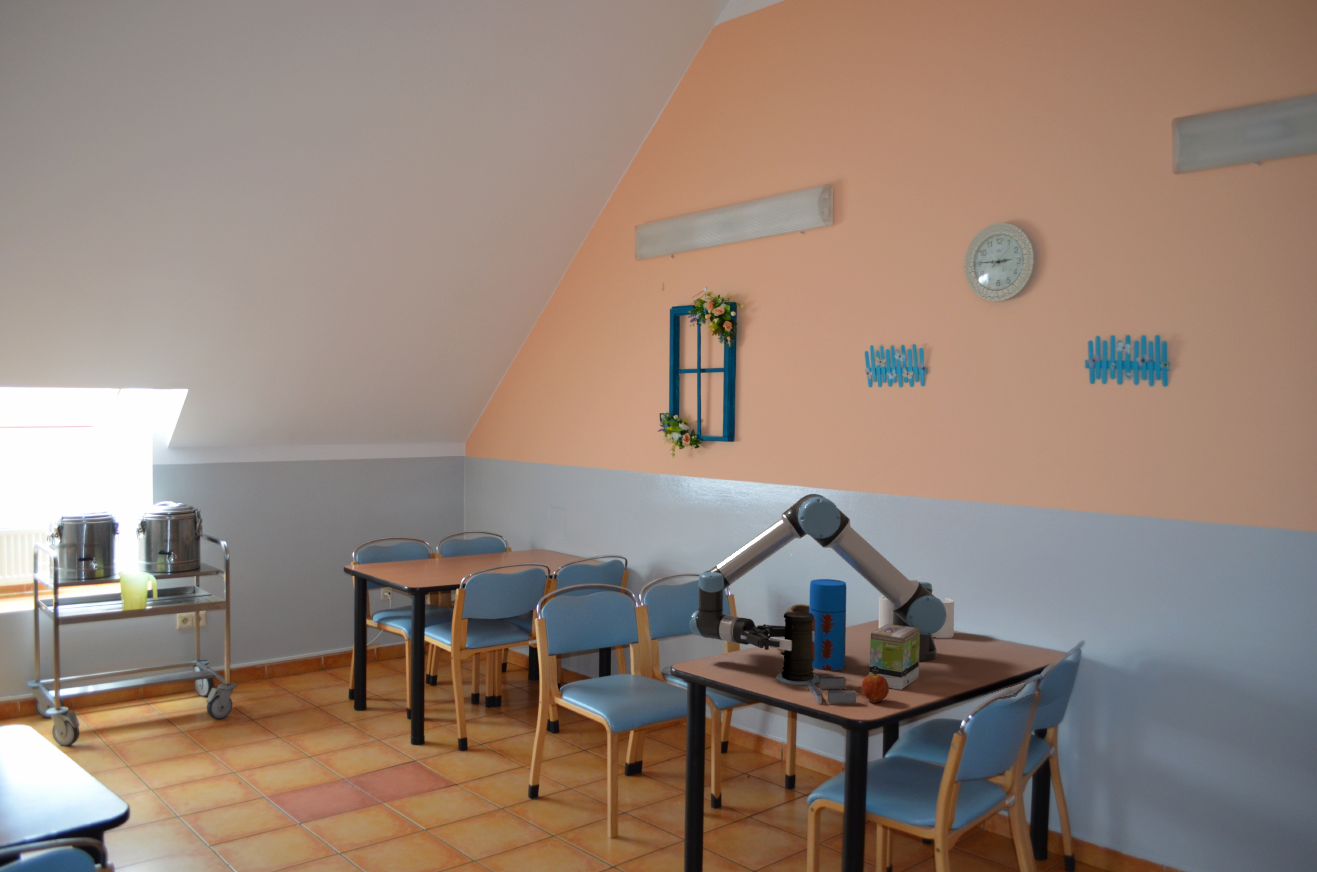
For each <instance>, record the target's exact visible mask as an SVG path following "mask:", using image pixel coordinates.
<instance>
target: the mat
mask: <svg viewBox="0 0 1317 872" xmlns="http://www.w3.org/2000/svg"><path fill="white" fill-rule="evenodd" d="M776 680H777V682H779V683H783V684H785V685H790V686H803V687H805V686H808V681H790V680H787V679H784V678H783V677H782V672H780V673H778V674H777V675H776ZM812 681H813V683H814V685H816V684H819V676H818V675H816V674H814V677H813V679H812Z"/></svg>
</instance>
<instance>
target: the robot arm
mask: <svg viewBox="0 0 1317 872" xmlns="http://www.w3.org/2000/svg"><path fill="white" fill-rule="evenodd" d="M806 535H808V536H810V537H811V538H812V539H813V541H815V542H816V543H817V544H819V545H820V546H821V547H822V548H824V549H827V548H828V549H829V548H830V549H832V550H833V551H834V552H835V553H836V554H837V555H838V556H839V557H840V558H842V559H843V560H844V561H845V562H846V563H847V564H848V565H849V566H850V567H851V568H852V569H854V570H855V571H856V572H857V573H858V574H859V575H860V576H861V577H862V578H863V579H864V580H866V581H867V582H868V583H869V584H870V585H871V586H872V587H874V588H875V590H877V591H878V592H879V593H880V594H881V596H884V598H885V599H888V600H889V601H890V609H891V610H892V611H893V625H900V626H907V627H914V628H920V649H919V662H923V661H924V662H925V661H926V662H927V661H931V660H934V659H936V658H937V653H938V651H937V646H936V643H935V639H934V638H933V636H932V634H934V633H936V632H937V631H939V630H940V629H941V628H942V627H943V625H944V623H945V621H946V609H945V607H944V604H943V603H942V602H943V601H942V600H941V599H940V598H938V597H937V596H935V595H934V594H933V591H934V590H933V586H932V583H930V582H927V581H925V582H924V581H918V580H914V579H912V580H910V579H908V578H907V576H905V574H903V573H902V572H901V571H900V570H899V569H897V567H896V566H895V565H894V564H892V563H891V562H890V561H889V560H888V559H887V558H886V557H884V555H882V554H881V553H880V552H879V551H878V550H877V549H876V548H874V547H873V545H871V544H870V543H869V542H868V541H867V540H866V539H865V538H863V536H862V535H860V534H859V533H858V532H857V531H856V530H855V529H854V528H853V527H852V526H851V519H850V518H849V517H848V516H847V515H846V514H845V513H844V512H842V511H841V510H840V508H838V507H837V505H836V504H835V503H834V502H833V500H830V499H829V498H826V496H823V495H822V494H818V493H809V494H807V495H804V496H803V497H800V498H799V500H797V501H796V502H795V503H794V504H793V505H792V506H790V507H789V508H788V509H786V511H784V512H782V513H781V518H780V519H778V520H777V521H776V522H774V523H773V524H772V525H770V526H769V527H767V528H765V530H763V531H762V532H760V533H759V534H758V535H757V536H755V537H754V538H752V539H751V540H749V541H748V542H747V543H746V544H744V545H742V546H741V547H740V548H739V549H737V550H735V551H734V552H733V553H731V554H729V556H727V557H725V559H723V560H722V561H720V562H719V563H718V564H716V565H715V566H714V567H712V568H711V569H708V570H705V571H704V572H702V573H700V574H699V576H698V581H697V586H698V610H695V611H694V612H693V613H692V614H691V616H690V620H689V628H690V629H689V630H690V631H691V633H692V634H694V635H695V636H699V637H701V638H702V637H703V638H706V639H707V638H708V639H713V640H720V641H723V642H724V641H726V642H727V643H728V644H731V643H737V644H741V645H746V646H748V645H752V646H754V647H757V648H760V649H764V651H768V650H769V649H770V648H771V649H772V648H773V649H776V650H777V649H783V650H788V651H791V650H792V641H791V640H785V629H784V628H785V625H774V624H773V625H770V624H766V623H765V624H759V625H756V624H755V622H754V620H753V619H751V618H747V617H740V616H736V615H728V614H724V598H725V597H724V596H725V595H724V590H726V589H727V588H728V587H729V586H731V585H732V584H733V583H735V582H737V581H738V580H739V579H740V578H742V577H744V576H745V575H746V574H747V573H749V572H750V571H751V570H753V569H754V568H756V567H758V566H759V565H760V564H762V563H763V562H765V561H766V560H767V559H769V558H771V557H772V556H773V555H774V554H775V553H777V552H778V551H780V550H781V549H783V548H784V547H785V546H787V545H788V544H790V543H791V542H792V541H793V540H795V539H802V538H803V537H805V536H806ZM812 641H814V632H813V631H812Z"/></svg>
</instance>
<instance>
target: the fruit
mask: <svg viewBox="0 0 1317 872" xmlns="http://www.w3.org/2000/svg"><path fill="white" fill-rule="evenodd" d="M876 674H877V671H876ZM876 674H872V675H869V674H868V675H867V676H865V677H863V680H862V682H861V691H862V694H863V696H864V697H865V698H866V699H867V700H869V701H871V702H872V703H880V702H881V701H884V699H886V698H887V697H888V694H889V692H890V691H889V690H890V688H889V686H888V683H887V681H886V679H885V678H884V677H883V676H880V675H876Z"/></svg>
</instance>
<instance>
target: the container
mask: <svg viewBox="0 0 1317 872" xmlns="http://www.w3.org/2000/svg"><path fill="white" fill-rule="evenodd" d="M783 618H784V626H785V628H784V629H785V637H784V639H785V640H791V641H792V650H791V651H788V650H784V653H783V666H782V672H781V673H782V677H783V678H784V679H787V680H790V681H808V680H812V679H813V677H814V672H813V671H814V669H815V668H813V667H812V660H813V658H812V631H813V629H812V623H813V621H812V620H813V619H814V615H813V614H811V613H808V612H801V611H793V612H787V611H786V612H785V613H784V614H783Z"/></svg>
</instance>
